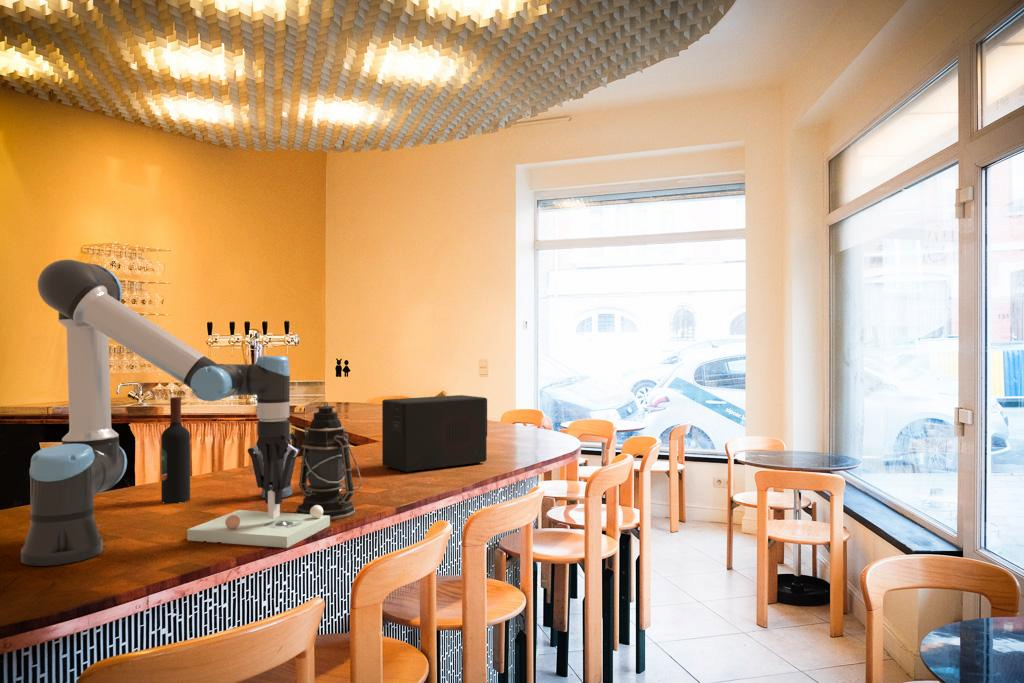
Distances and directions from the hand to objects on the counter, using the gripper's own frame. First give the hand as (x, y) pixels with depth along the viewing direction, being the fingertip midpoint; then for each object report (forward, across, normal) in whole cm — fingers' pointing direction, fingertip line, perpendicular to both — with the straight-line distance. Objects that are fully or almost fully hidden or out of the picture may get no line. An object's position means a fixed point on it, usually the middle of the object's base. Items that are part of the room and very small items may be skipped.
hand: (273, 517), depth 176 cm
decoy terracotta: (0, +6, +7) cm, 9 cm away
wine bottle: (+4, +47, -25) cm, 54 cm away
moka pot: (+4, +22, -38) cm, 44 cm away
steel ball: (+2, -2, 0) cm, 3 cm away
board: (+4, +3, 0) cm, 5 cm away
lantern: (+4, -3, -21) cm, 22 cm away
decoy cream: (0, -8, -7) cm, 10 cm away
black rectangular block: (+4, -6, -100) cm, 100 cm away
